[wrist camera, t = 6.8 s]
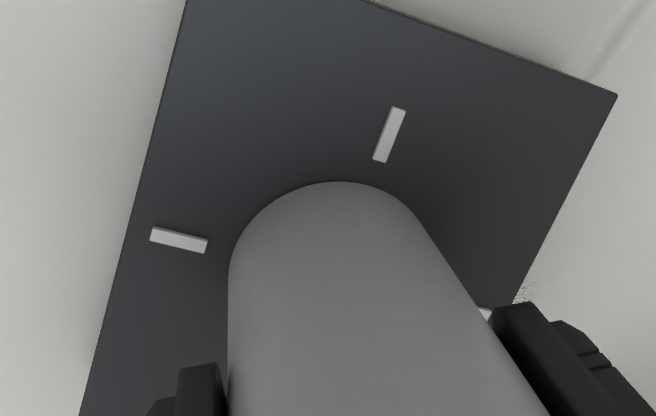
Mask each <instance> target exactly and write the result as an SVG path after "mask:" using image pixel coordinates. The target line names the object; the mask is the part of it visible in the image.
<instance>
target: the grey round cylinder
mask: <svg viewBox="0 0 656 416" xmlns="http://www.w3.org/2000/svg"><path fill="white" fill-rule="evenodd" d="M227 416H550V414H549V413H548V411H547V410H546V408H545V407H544V405H543V404H542V402H541V401H540V399H539V398H538V396H537V395H536V393H535V392H534V390H533V389H532V387H531V386H530V385H529V383H528V382H527V380H526V379H525V377H524V376H523V374H522V373H521V371H520V370H519V368H518V367H517V365H516V364H515V362H514V361H513V359H512V358H511V356H510V355H509V353H508V352H507V350H506V349H505V347H504V346H503V344H502V343H501V342H500V340H499V339H498V337H497V336H496V334H495V333H494V331H493V330H492V328H491V327H490V325H489V324H488V322H487V321H486V319H485V318H484V316H483V315H482V313H481V312H480V310H479V309H478V307H477V306H476V304H475V303H474V302H473V300H472V299H471V297H470V296H469V294H468V293H467V291H466V290H465V288H464V287H463V285H462V284H461V282H460V281H459V279H458V278H457V276H456V275H455V273H454V272H453V270H452V269H451V267H450V266H449V264H448V263H447V261H446V260H445V259H444V257H443V256H442V254H441V253H440V251H439V250H438V248H437V247H436V245H435V244H434V242H433V241H432V239H431V238H430V236H429V235H428V233H427V232H426V230H425V229H424V227H423V226H422V224H421V223H420V222H419V220H418V219H417V218H416V216H415V215H414V213H413V212H412V211H411V210H410V209H409V208H408V207H407V206H406V205H404V204H403V203H402V202H400V201H399V200H398V199H396V198H395V197H393V196H392V195H390V194H388V193H386V192H384V191H382V190H380V189H377V188H374V187H372V186H368V185H364V184H360V183H353V182H344V181H342V182H324V183H317V184H313V185H309V186H305V187H301V188H299V189H296V190H294V191H292V192H289V193H287V194H285V195H283V196H282V197H280V198H278V199H276V200H275V201H273V202H272V203H270V204H269V205H268V206H266V207H265V208H264V209H263V210H262V211H260V212H259V213H258V214H257V215H256V216H255V217H254V218H253V219H252V221H251V222H250V223H249V224H248V226H247V227H246V228H245V229H244V231H243V233H242V234H241V236H240V238H239V239H238V241H237V244H236V246H235V248H234V251H233V253H232V257H231V261H230V265H229V274H228V375H227Z"/></svg>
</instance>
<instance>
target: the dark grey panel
mask: <svg viewBox="0 0 656 416" xmlns="http://www.w3.org/2000/svg"><path fill="white" fill-rule="evenodd" d="M617 97H618V95H617V93H614V92H611V91H609V90H606V89H604V88H601V87H599V86H596V85H594V84H591V83H589V82H586V81H584V80H581V79H579V78H576V77H573V76H571V75H568V74H566V73H563V72H561V71H558V70H555V69H553V68H550V67H547V66H545V65H542V64H539V63H536V62H534V61H531V60H528V59H526V58H523V57H520V56H518V55H515V54H512V53H510V52H507V51H504V50H502V49H499V48H496V47H493V46H491V45H488V44H485V43H483V42H480V41H477V40H475V39H472V38H469V37H467V36H464V35H461V34H459V33H456V32H453V31H450V30H448V29H445V28H442V27H440V26H437V25H434V24H432V23H429V22H426V21H424V20H421V19H418V18H416V17H413V16H410V15H407V14H405V13H402V12H399V11H397V10H394V9H391V8H389V7H386V6H383V5H381V4H378V3H375V2H373V1H370V0H186V3H185V7H184V11H183V15H182V19H181V23H180V27H179V30H178V34H177V38H176V42H175V46H174V50H173V53H172V57H171V61H170V65H169V69H168V73H167V77H166V80H165V84H164V88H163V92H162V96H161V100H160V104H159V107H158V111H157V115H156V119H155V123H154V127H153V131H152V134H151V138H150V142H149V146H148V150H147V154H146V158H145V161H144V165H143V169H142V173H141V177H140V181H139V185H138V188H137V192H136V196H135V200H134V204H133V208H132V211H131V215H130V219H129V223H128V227H127V231H126V235H125V238H124V242H123V246H122V250H121V254H120V258H119V262H118V265H117V269H116V273H115V277H114V281H113V285H112V289H111V292H110V296H109V300H108V304H107V308H106V312H105V316H104V319H103V323H102V327H101V331H100V335H99V339H98V343H97V346H96V350H95V354H94V358H93V362H92V366H91V369H90V373H89V377H88V381H87V385H86V389H85V393H84V396H83V400H82V404H81V408H80V412H79V416H146V415H147V413H148V412H149V410H150V409H151V407H152V406H153V404H154V403H155V401H156V400H159V399H164V398H169V397H174V396H176V393H177V383H178V374H179V370H180V369H182V368H187V367H192V366H197V365H202V364H207V363H212V362H217V363H218V366H219V369H220V373H221V377H222V381H223V385H224V389H225V393H226V397H227V375H228V274H229V265H230V261H231V257H232V253H233V251H234V248H235V246H236V244H237V241H238V239H239V238H240V236H241V234H242V233H243V231H244V229H245V228H246V227H247V226H248V224H249V223H250V222H251V221H252V219H253V218H254V217H255V216H256V215H257V214H258V213H259V212H260V211H262V210H263V209H264V208H265V207H266V206H268V205H269V204H270V203H272V202H273V201H275V200H276V199H278V198H280V197H282V196H283V195H285V194H287V193H289V192H292V191H294V190H296V189H299V188H301V187H305V186H309V185H313V184H317V183H324V182H342V181H344V182H353V183H360V184H364V185H368V186H372V187H374V188H377V189H380V190H382V191H384V192H386V193H388V194H390V195H392V196H393V197H395V198H396V199H398V200H399V201H400V202H402V203H403V204H404V205H406V206H407V207H408V208H409V209H410V210H411V211H412V212H413V213H414V215H415V216H416V218H417V219H418V220H419V222H420V223H421V224H422V226H423V227H424V229H425V230H426V232H427V233H428V235H429V236H430V238H431V239H432V241H433V242H434V244H435V245H436V247H437V248H438V250H439V251H440V253H441V254H442V256H443V257H444V259H445V260H446V261H447V263H448V264H449V266H450V267H451V269H452V270H453V272H454V273H455V275H456V276H457V278H458V279H459V281H460V282H461V284H462V285H463V287H464V288H465V290H466V291H467V293H468V294H469V296H470V297H471V299H472V300H473V302H474V303H475V304H476V306H477V307H478V309H479V310H480V312H481V313H482V315H483V316H484V318H485V319H486V321H487V322H488V324H489V325H490V327H491V328H492V314H493V310H494V309H495V308H497V307H502V306H507V305H511V304H512V302H513V300H514V298H515V296H516V294H517V292H518V290H519V288H520V286H521V284H522V283H523V281H524V279H525V277H526V275H527V273H528V271H529V269H530V267H531V265H532V263H533V261H534V259H535V257H536V255H537V253H538V251H539V249H540V247H541V245H542V244H543V242H544V240H545V238H546V236H547V234H548V232H549V230H550V228H551V226H552V224H553V222H554V220H555V218H556V216H557V214H558V212H559V210H560V208H561V207H562V205H563V203H564V201H565V199H566V197H567V195H568V193H569V191H570V189H571V187H572V185H573V183H574V181H575V179H576V177H577V175H578V173H579V171H580V169H581V168H582V166H583V164H584V162H585V160H586V158H587V156H588V154H589V152H590V150H591V148H592V146H593V144H594V142H595V140H596V138H597V136H598V134H599V132H600V130H601V129H602V127H603V125H604V123H605V121H606V119H607V117H608V115H609V113H610V111H611V109H612V107H613V105H614V103H615V101H616V99H617Z"/></svg>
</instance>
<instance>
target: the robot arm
mask: <svg viewBox="0 0 656 416" xmlns="http://www.w3.org/2000/svg"><path fill="white" fill-rule="evenodd" d="M492 330H493V331H494V333H495V334H496V336H497V337H498V339H499V340H500V342H501V343H502V344H503V346H504V347H505V349H506V350H507V352H508V353H509V355H510V356H511V358H512V359H513V361H514V362H515V364H516V365H517V367H518V368H519V370H520V371H521V373H522V374H523V376H524V377H525V379H526V380H527V382H528V383H529V385H530V386H531V387H532V389H533V390H534V392H535V393H536V395H537V396H538V398H539V399H540V401H541V402H542V404H543V405H544V407H545V408H546V410H547V411H548V413H549V414H550V416H656V412H655V411H654V410H653V409H652V408H651V407H650V406H649V405H648V403H647V402H646V401H645V400H644V399H643V398H642V397H641V396H640V395H639V393H638V392H637V391H636V390H635V389H634V388H633V387H632V386H631V385H630V383H629V382H628V381H627V380H626V379H625V378H624V377H623V376H622V375H621V373H620V372H619V371H618V370H617V369H616V368H615V367H612V365H611V362H610V361H609V360H608V359H607V358H606V357H605V356H604V355H603V353H600V352H599V349H598V348H597V347H596V346H595V345H594V343H593V342H592V341H591V340H590V339H589V338H588V337H587V336H586V335H585V334H584V333H583V332H582V331H580V330H578V329H576V328H574V327H573V326H571V325H569V324H567V323H565V322H564V321H562V320H559V321H554V322H549V321H548V320H547V319H546V318H545V317H544V315H543V314H542V313H541V312H540V311H539V309H538V308H537V307H536V306H535V305H534V304H533V303H532V302H530V301H528V302H523V303H518V304H513V305H507V306H502V307H497V308H495V309H494V310H493V314H492ZM146 416H227V397H226V393H225V389H224V385H223V381H222V377H221V373H220V369H219V366H218V363H217V362H212V363H207V364H202V365H197V366H192V367H187V368H182V369H180V370H179V374H178V383H177V393H176V396H174V397H169V398H164V399H159V400H156V401H155V403H154V404H153V406H152V407H151V409H150V410H149V412H148V413H147V415H146Z"/></svg>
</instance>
